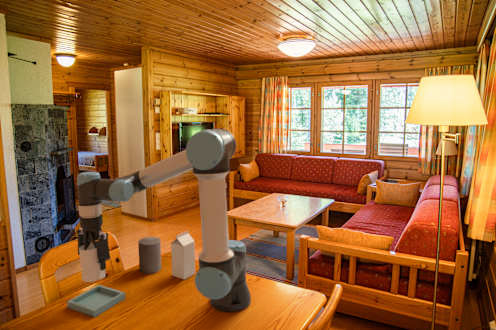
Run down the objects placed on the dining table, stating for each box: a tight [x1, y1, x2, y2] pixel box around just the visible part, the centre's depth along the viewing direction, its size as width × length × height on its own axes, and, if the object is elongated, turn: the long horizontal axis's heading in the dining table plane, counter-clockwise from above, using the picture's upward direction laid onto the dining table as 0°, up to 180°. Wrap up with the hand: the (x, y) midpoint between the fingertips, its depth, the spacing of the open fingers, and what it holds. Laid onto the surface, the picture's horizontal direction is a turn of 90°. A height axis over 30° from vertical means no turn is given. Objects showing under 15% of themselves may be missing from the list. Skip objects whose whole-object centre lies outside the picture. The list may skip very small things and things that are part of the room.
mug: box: [79, 243, 99, 283], centre depth 127 cm, size 10×7×12 cm, turn 170°
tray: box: [66, 284, 126, 318], centre depth 129 cm, size 14×14×2 cm
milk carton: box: [170, 230, 196, 280], centre depth 151 cm, size 7×7×19 cm
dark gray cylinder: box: [137, 236, 162, 275], centre depth 157 cm, size 10×10×15 cm
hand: (95, 275), depth 128 cm, fingers closed on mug, 6 cm apart
